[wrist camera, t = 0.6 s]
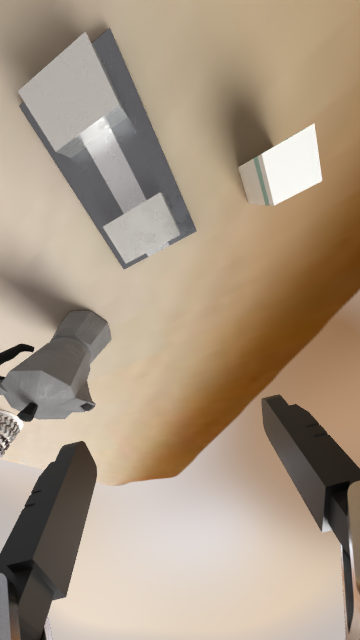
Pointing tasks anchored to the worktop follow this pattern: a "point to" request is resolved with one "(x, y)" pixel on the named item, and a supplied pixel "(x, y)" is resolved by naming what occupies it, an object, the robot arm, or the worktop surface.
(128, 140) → the rail panel
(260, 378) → the worktop surface
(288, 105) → the worktop surface
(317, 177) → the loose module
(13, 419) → the black and white cylinder
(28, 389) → the coffeepot
